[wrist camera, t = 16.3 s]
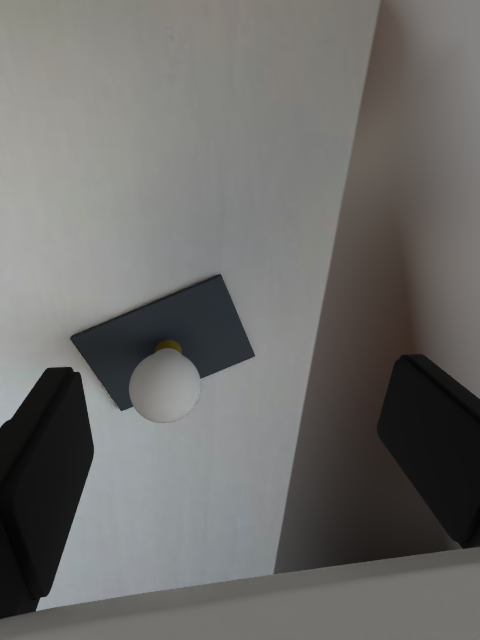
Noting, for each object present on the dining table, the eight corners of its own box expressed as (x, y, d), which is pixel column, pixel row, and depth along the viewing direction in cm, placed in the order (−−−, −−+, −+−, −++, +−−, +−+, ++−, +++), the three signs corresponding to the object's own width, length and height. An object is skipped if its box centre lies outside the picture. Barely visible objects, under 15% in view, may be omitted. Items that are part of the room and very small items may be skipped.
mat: (220, 273, 33) (221, 275, 32) (254, 353, 37) (255, 356, 36) (71, 335, 33) (69, 338, 32) (122, 408, 37) (121, 411, 37)
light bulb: (191, 316, 33) (194, 369, 24) (202, 365, 36) (209, 429, 27) (132, 327, 33) (113, 386, 24) (147, 376, 35) (135, 446, 26)
